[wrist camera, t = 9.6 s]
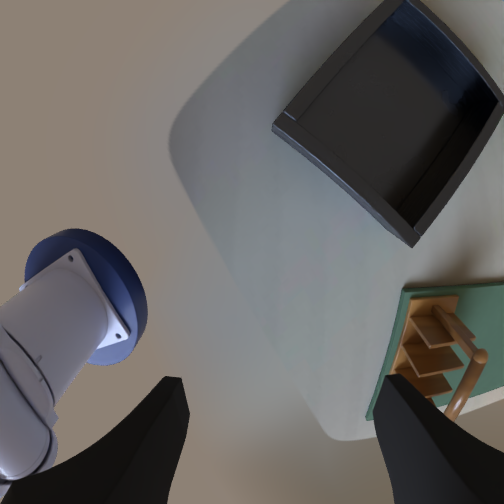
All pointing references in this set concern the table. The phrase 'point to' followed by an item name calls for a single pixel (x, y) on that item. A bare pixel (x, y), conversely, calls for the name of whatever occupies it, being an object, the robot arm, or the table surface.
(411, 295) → the drying mat
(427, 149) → the open box
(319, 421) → the table surface
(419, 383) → the dish rack
